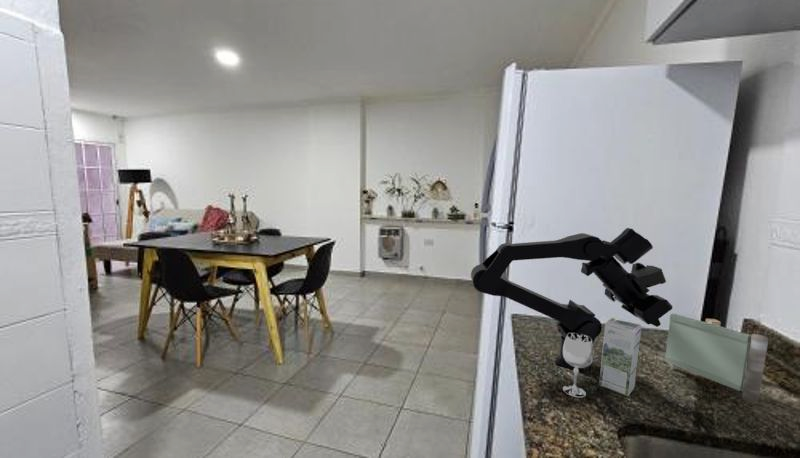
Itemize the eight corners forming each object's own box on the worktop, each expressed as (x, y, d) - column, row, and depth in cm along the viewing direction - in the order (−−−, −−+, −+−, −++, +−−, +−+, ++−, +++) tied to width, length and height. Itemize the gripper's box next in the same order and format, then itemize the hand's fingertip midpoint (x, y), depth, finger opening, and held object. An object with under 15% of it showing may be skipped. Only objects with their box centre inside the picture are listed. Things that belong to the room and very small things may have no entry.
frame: (771, 405, 71) (782, 340, 70) (748, 403, 72) (758, 338, 70) (708, 364, 88) (715, 310, 86) (689, 362, 89) (696, 309, 87)
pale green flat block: (743, 389, 74) (751, 335, 73) (739, 391, 73) (748, 336, 72) (667, 360, 86) (673, 313, 85) (664, 361, 86) (670, 314, 84)
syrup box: (635, 387, 76) (642, 323, 75) (628, 398, 72) (635, 331, 71) (606, 377, 80) (612, 316, 79) (597, 386, 76) (604, 322, 75)
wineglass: (589, 402, 70) (595, 345, 69) (558, 393, 73) (563, 339, 72) (589, 388, 75) (595, 335, 74) (560, 381, 78) (565, 329, 77)
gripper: (668, 262, 72) (718, 318, 72) (622, 247, 91) (662, 292, 91) (623, 296, 74) (672, 351, 74) (587, 275, 92) (626, 318, 92)
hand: (658, 325), depth 83 cm, fingers closed
